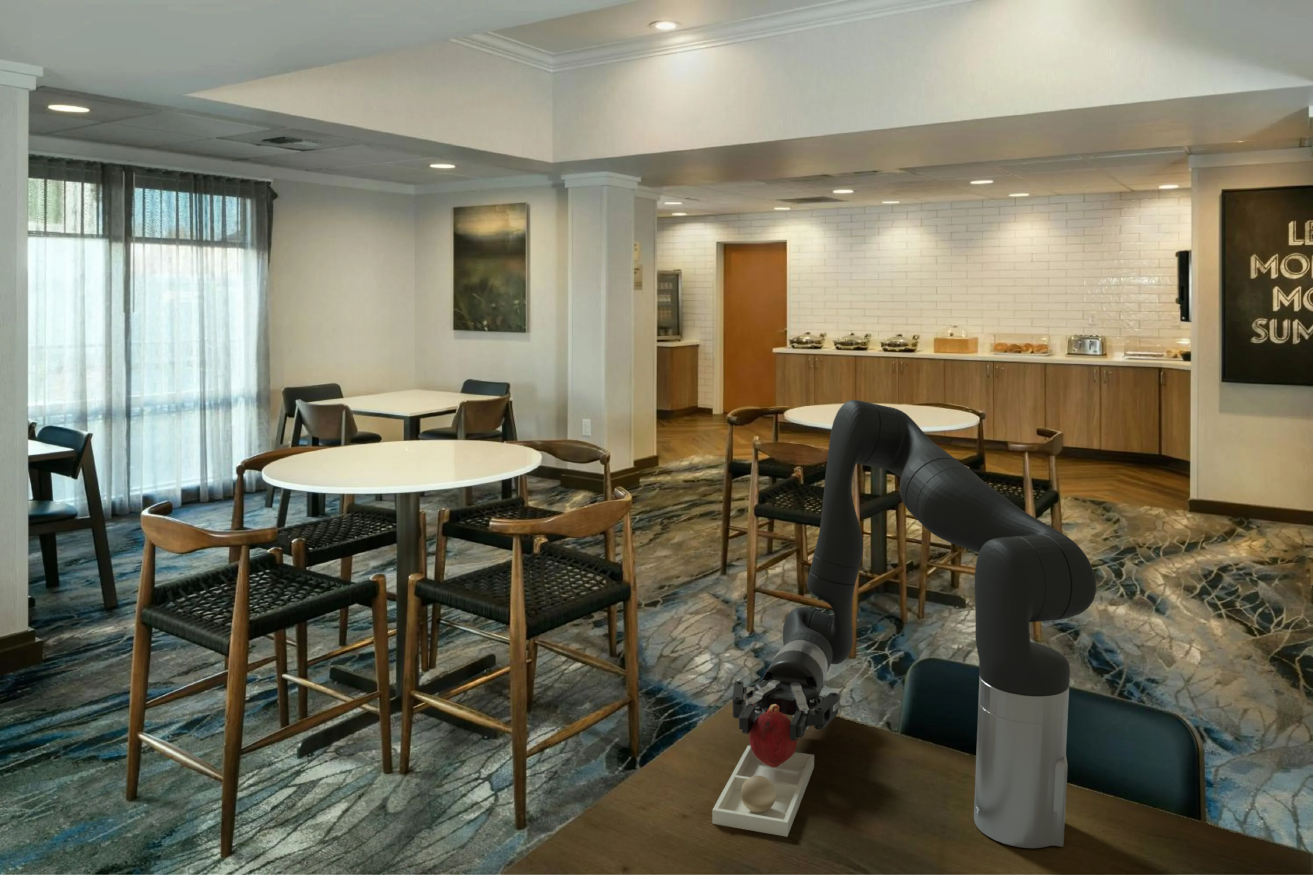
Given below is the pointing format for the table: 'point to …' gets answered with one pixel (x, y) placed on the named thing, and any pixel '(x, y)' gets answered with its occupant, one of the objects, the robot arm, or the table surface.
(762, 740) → the onion
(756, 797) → the beige wooden ball
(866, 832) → the table surface
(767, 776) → the white divided tray
